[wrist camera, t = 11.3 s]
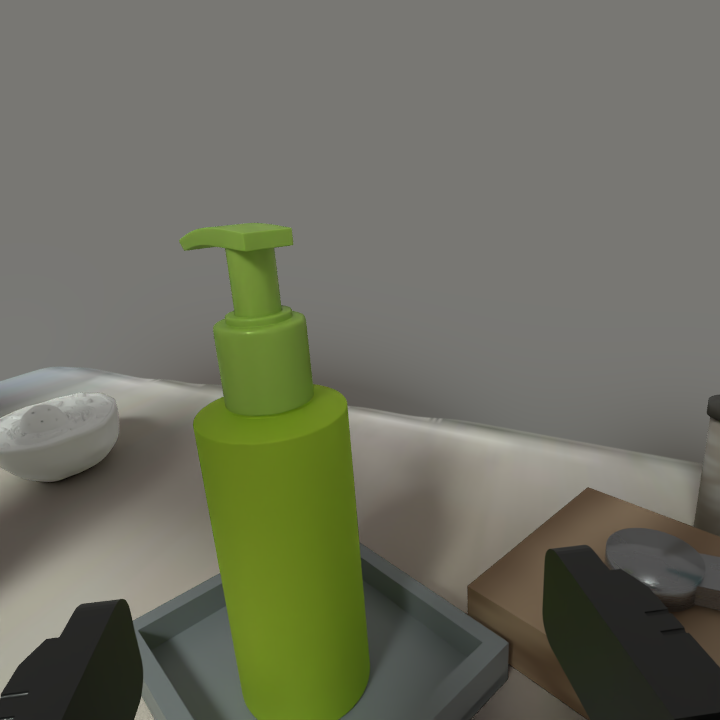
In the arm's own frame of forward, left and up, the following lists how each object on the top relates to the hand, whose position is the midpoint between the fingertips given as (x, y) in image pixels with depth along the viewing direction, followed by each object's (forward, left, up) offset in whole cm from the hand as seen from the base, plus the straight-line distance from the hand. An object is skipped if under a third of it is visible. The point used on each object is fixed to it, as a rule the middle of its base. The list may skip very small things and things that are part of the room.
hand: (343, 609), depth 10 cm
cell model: (-42, +2, -14) cm, 45 cm away
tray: (-10, +5, -14) cm, 18 cm away
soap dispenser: (-10, +5, -13) cm, 18 cm away
